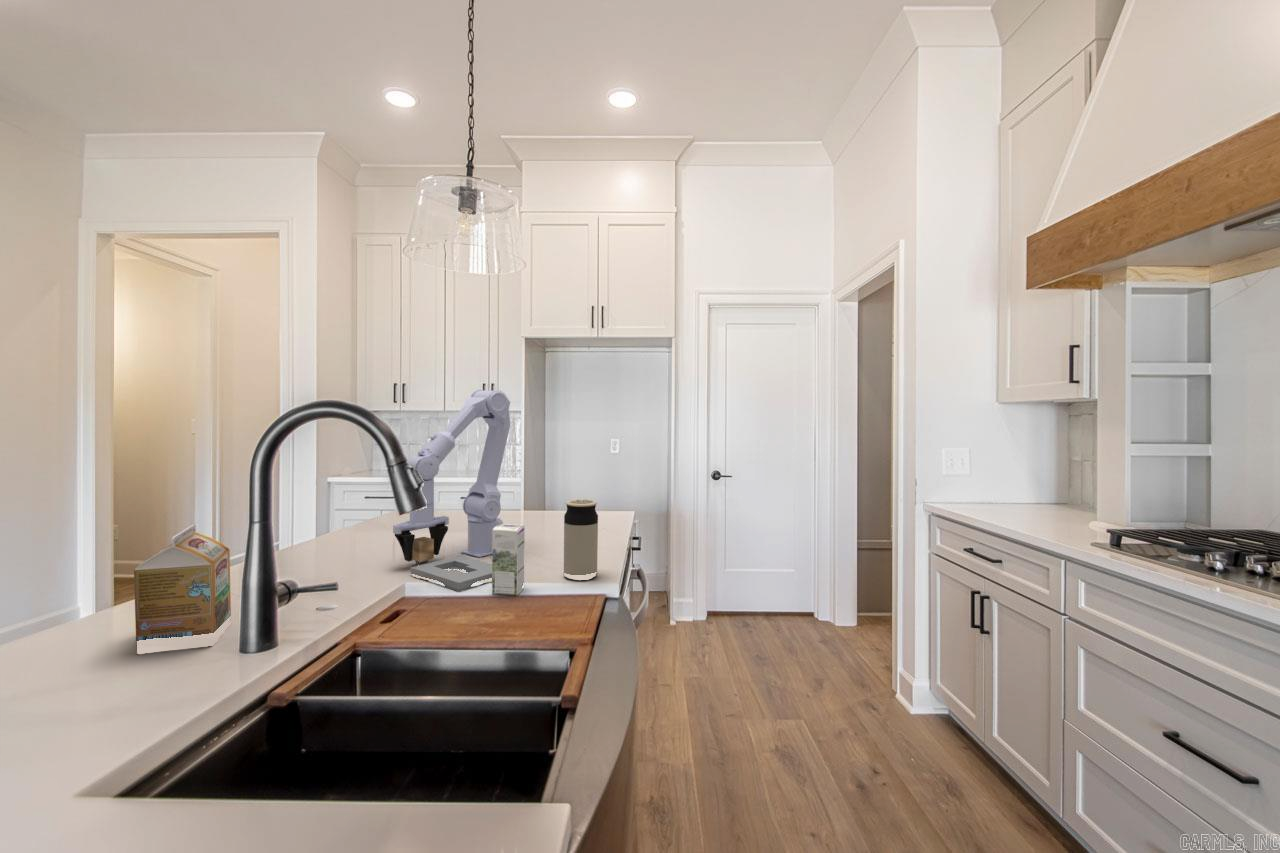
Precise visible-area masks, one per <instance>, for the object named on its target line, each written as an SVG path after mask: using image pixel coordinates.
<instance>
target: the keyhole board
mask: <svg viewBox="0 0 1280 853" xmlns="http://www.w3.org/2000/svg"><path fill="white" fill-rule="evenodd" d="M448 568H449V569H452V570H450V571H448V570H444V569H448ZM453 569H459V570H460V569H461V570H462V569H464V570H466V572H468V573H463V572H460V571H457V570H453ZM411 574H415V575H418V576H421V577H425V578H429V579H433V580H437V581H439V582H441V583H443V584H444V585H445V587H444V588H446V589H449V590H453V591H455V592H459V593H460V592H462V591H467V590H469V589H471V588H470V587H471V585H472V584H473V583H475V582H477V581H481V580H485V579H489V578H492V563H489V562H486V561H481V560H478V559H475V558H473V557H469V556H468V557H467V556H463V555H461V554H460V555H456V556H451V557H448V558H444V559H440V560H435V561H433V562H428V563H427V564H423V565H419V566H417V565H415V566H412V567H410V575H411Z"/></svg>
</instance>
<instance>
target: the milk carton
mask: <svg viewBox="0 0 1280 853" xmlns="http://www.w3.org/2000/svg"><path fill="white" fill-rule="evenodd" d="M230 557H231V556H230V548H229V547H227V545H224V544H223V543H222V542H220V541H218V540H217V539H215V538H212V537H210V536H207V535H205V534H202V533H200V532H197V527H196V524H192V525H190V526H189V527H187V528H185V529H184V530H181V531H180V532H179V533H177V534H175V535H174V536H172V538H171V544H170V545H168V546H166V547H165V548H163V549H162V550H160V551H158V552H157V553H155V554H154V555H152V556H151V557H149V558H148V559H146V560H145V561H143V562H142V563H140V564H139V565H138V566H137V567H136V568H135V569H133V582H134V583H133V584H134V587H133V588H134V612H135V613H134V614H135V616H134V617H135V642H136V641H139V640H146V639H153V638H169V637H170V638H171V637H183V636H193V635H201V634H209V633H214V632H215V631H216V630H217V629H218V628H219V627H220V626H221V625H222V624H223V623H224V622H225V621H226V620H227V619H228V618H229V617H230V616H231V617H232V612H231V610H232V605H231V603H232V602H231V598H232V597H231V596H232V595H231V563H230V562H231V561H230V559H231V558H230Z"/></svg>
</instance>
